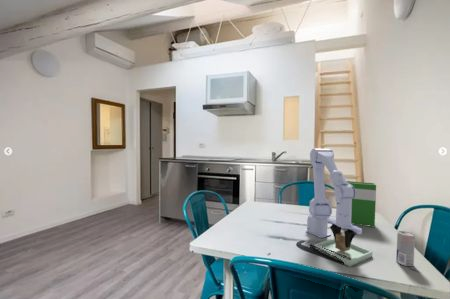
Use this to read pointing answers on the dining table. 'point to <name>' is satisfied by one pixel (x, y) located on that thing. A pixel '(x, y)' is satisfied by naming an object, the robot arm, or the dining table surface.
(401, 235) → the energy drink
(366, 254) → the tray
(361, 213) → the hardback book
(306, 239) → the dining table surface
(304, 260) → the dining table surface
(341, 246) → the walnut block
